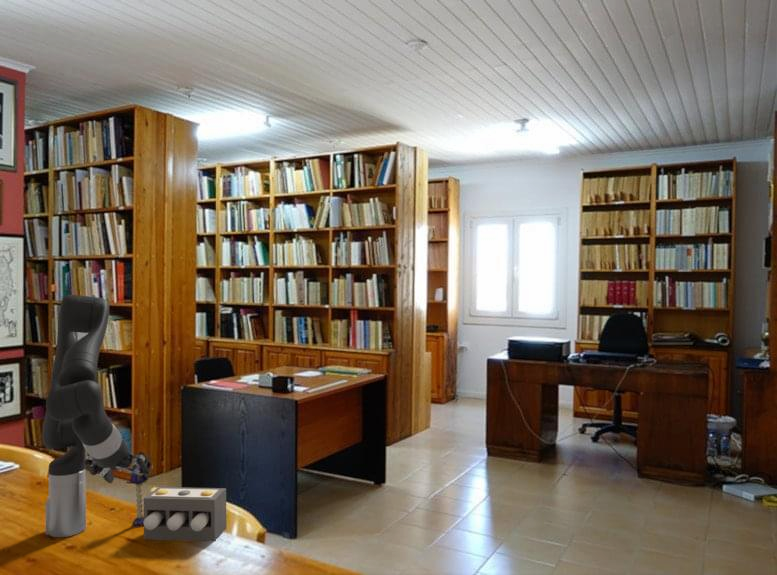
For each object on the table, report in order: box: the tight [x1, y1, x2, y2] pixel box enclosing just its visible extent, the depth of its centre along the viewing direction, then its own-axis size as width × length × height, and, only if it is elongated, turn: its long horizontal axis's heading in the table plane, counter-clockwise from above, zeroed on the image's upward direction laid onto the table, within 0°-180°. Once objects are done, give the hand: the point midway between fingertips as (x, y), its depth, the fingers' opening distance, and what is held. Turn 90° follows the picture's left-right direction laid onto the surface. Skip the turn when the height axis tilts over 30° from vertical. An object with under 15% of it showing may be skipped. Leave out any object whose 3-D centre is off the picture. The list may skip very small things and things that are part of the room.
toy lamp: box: [129, 466, 145, 527], centre depth 173 cm, size 5×5×17 cm
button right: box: [191, 511, 210, 531], centre depth 161 cm, size 4×6×4 cm, turn 176°
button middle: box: [167, 511, 187, 531], centre depth 162 cm, size 4×6×4 cm, turn 176°
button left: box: [143, 510, 165, 530], centre depth 162 cm, size 4×6×4 cm, turn 176°
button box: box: [143, 486, 227, 542], centre depth 166 cm, size 20×9×12 cm, turn 86°
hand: (128, 479), depth 147 cm, fingers open, 8 cm apart
